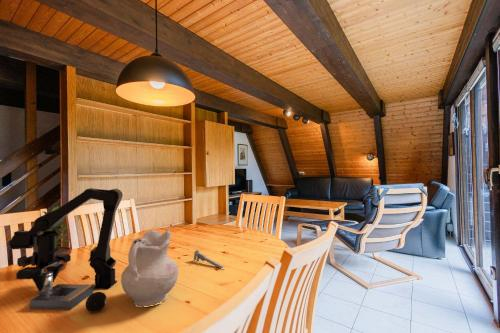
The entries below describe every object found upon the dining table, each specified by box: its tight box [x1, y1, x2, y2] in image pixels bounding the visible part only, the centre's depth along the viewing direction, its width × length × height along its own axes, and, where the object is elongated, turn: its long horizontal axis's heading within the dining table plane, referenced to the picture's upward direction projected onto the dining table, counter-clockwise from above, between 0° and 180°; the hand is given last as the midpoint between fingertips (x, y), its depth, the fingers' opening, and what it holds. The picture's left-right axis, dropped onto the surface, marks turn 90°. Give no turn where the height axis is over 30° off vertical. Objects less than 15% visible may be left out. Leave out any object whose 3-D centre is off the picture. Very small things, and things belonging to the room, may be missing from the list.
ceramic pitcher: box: [120, 229, 179, 308], centre depth 90 cm, size 22×20×25 cm
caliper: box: [193, 249, 224, 269], centre depth 124 cm, size 20×1×6 cm, turn 57°
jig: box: [29, 283, 95, 311], centre depth 90 cm, size 14×12×3 cm
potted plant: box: [31, 204, 72, 272], centre depth 117 cm, size 15×15×30 cm
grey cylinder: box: [37, 271, 54, 295], centre depth 96 cm, size 4×4×7 cm
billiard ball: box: [85, 291, 108, 313], centre depth 83 cm, size 6×6×6 cm
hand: (45, 287), depth 96 cm, fingers closed on grey cylinder, 4 cm apart
